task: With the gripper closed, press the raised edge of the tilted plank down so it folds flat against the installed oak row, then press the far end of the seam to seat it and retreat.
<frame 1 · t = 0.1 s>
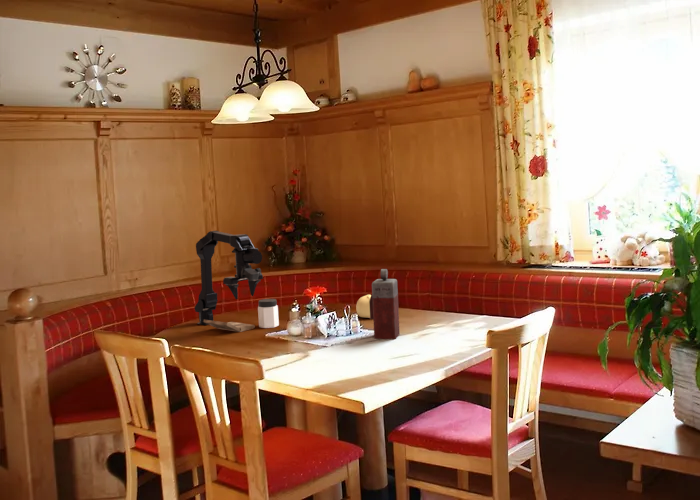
hand: (244, 297, 343), 15 cm above the table, tool pointing down, fingers open, 9 cm apart
red grey rectangular bottle: (384, 336, 317), on the table
jar: (269, 326, 350), on the table
plank: (221, 325, 343), point 3 cm above the table, hinge at 30.0°
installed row: (236, 328, 349), on the table
sculpture: (369, 317, 359), on the table
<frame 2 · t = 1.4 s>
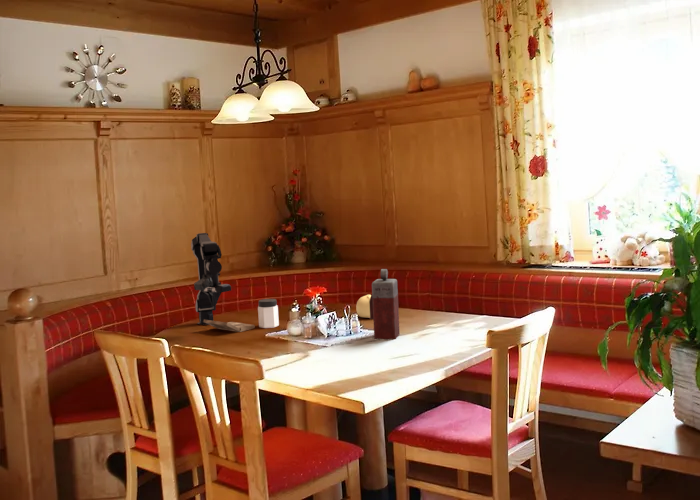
hand: (213, 306, 339), 12 cm above the table, tool pointing down, fingers closed
nothing on the table moved.
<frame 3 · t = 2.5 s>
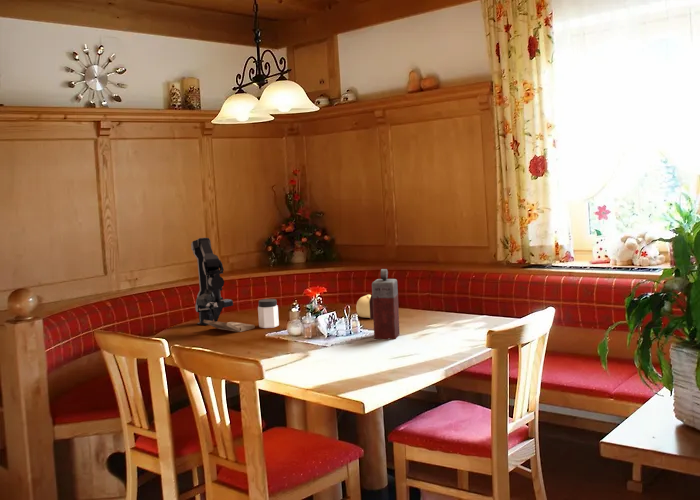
hand: (215, 321, 340), 5 cm above the table, tool pointing down, fingers closed, pressing on plank
plank: (221, 325, 343), point 3 cm above the table, hinge at 29.3°, touching gripper
everything else where it was.
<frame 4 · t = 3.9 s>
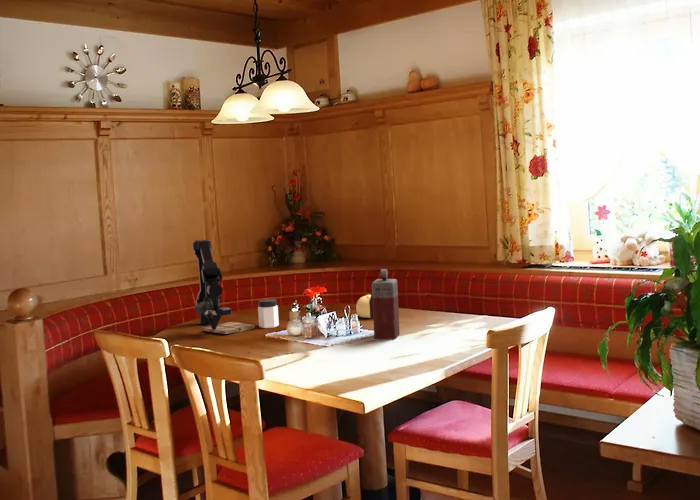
hand: (214, 329, 339), 2 cm above the table, tool pointing down, fingers closed, pressing on plank
plank: (220, 329, 342), point 1 cm above the table, hinge at 3.6°, touching gripper
everything else where it was.
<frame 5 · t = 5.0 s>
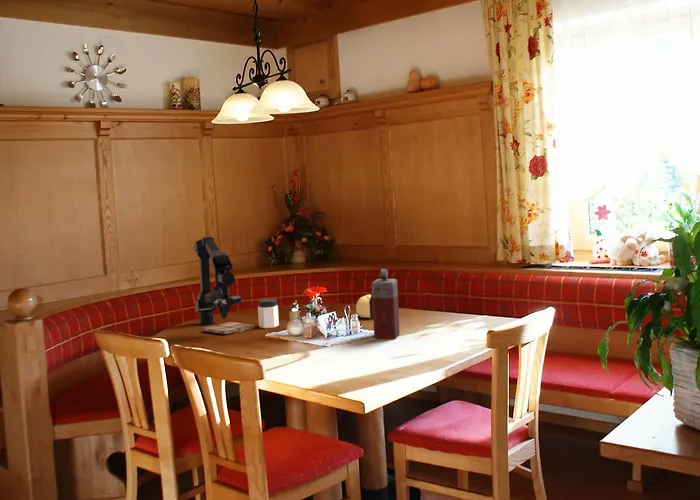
hand: (224, 318, 336), 7 cm above the table, tool pointing down, fingers closed
plank: (220, 329, 342), point 1 cm above the table, hinge at 3.6°
everything else where it was.
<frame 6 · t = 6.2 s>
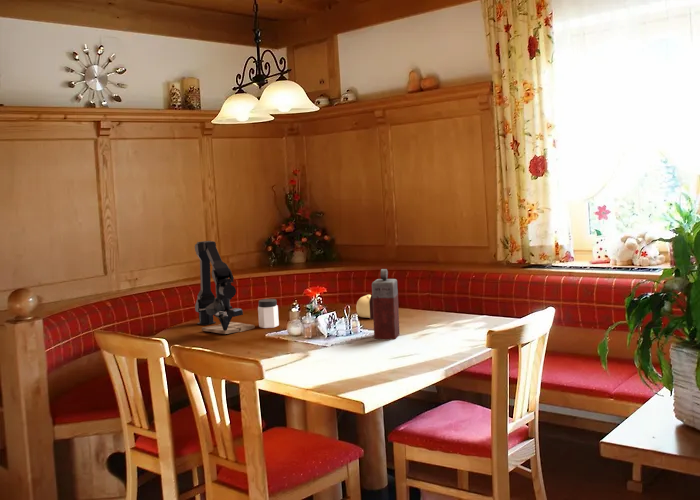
hand: (225, 330, 337), 2 cm above the table, tool pointing down, fingers closed, pressing on plank
plank: (220, 329, 342), point 1 cm above the table, hinge at 3.6°, touching gripper
everything else where it was.
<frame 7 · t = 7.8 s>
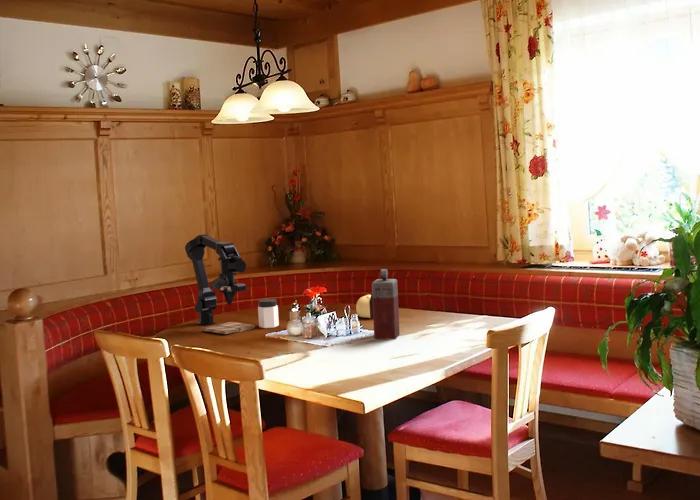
hand: (229, 304, 348), 11 cm above the table, tool pointing down, fingers closed
plank: (220, 329, 342), point 1 cm above the table, hinge at 3.5°
everything else where it was.
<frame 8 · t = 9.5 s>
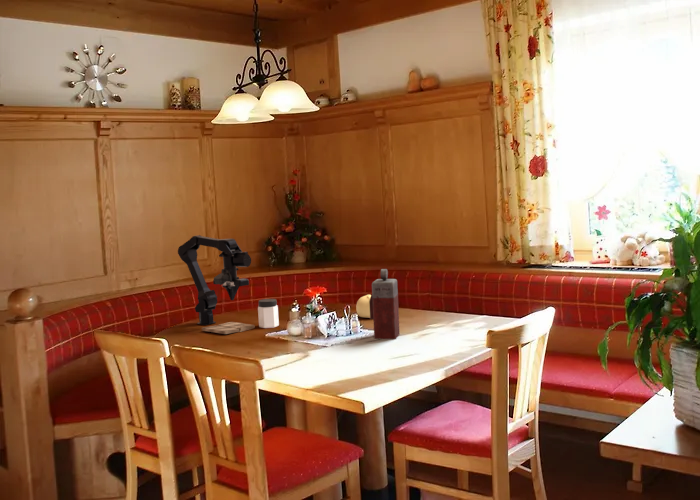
hand: (232, 300, 354), 12 cm above the table, tool pointing down, fingers closed
nothing on the table moved.
at the end: plank at +4° (first picture: +30°); plank touching nothing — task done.
